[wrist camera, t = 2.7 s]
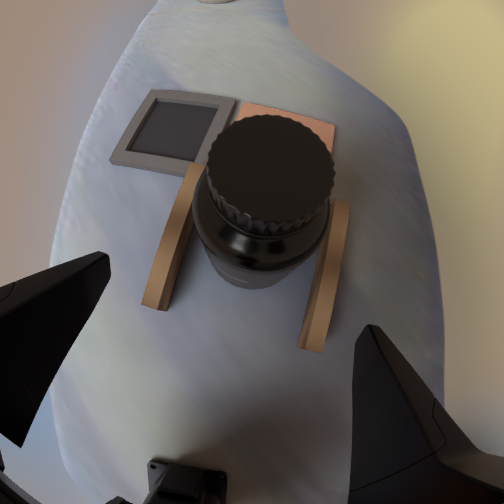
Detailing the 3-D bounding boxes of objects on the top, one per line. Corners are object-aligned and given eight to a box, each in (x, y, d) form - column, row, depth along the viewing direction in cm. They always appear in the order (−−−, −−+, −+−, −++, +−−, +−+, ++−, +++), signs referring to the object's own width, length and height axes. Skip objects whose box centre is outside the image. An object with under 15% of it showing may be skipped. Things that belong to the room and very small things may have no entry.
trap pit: (204, 181, 22) (203, 177, 21) (112, 164, 22) (108, 159, 22) (235, 104, 24) (235, 99, 24) (152, 94, 25) (151, 89, 24)
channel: (312, 349, 19) (322, 353, 17) (152, 306, 20) (141, 304, 17) (339, 215, 22) (350, 203, 20) (195, 177, 22) (190, 162, 20)
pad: (320, 210, 22) (323, 206, 21) (214, 182, 22) (213, 177, 21) (332, 130, 24) (335, 125, 23) (243, 107, 24) (243, 102, 24)
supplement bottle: (207, 291, 20) (164, 252, 8) (209, 205, 22) (185, 96, 10) (299, 290, 20) (372, 252, 9) (295, 205, 22) (342, 102, 10)
